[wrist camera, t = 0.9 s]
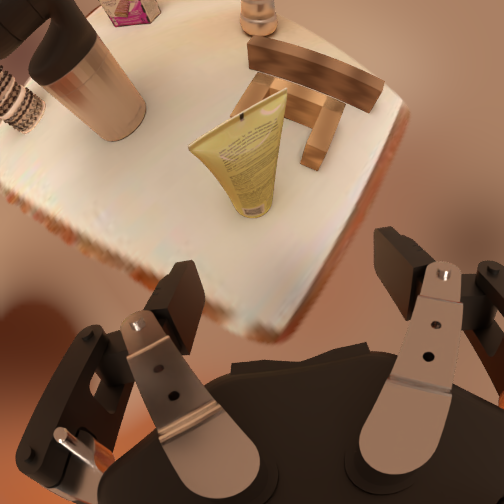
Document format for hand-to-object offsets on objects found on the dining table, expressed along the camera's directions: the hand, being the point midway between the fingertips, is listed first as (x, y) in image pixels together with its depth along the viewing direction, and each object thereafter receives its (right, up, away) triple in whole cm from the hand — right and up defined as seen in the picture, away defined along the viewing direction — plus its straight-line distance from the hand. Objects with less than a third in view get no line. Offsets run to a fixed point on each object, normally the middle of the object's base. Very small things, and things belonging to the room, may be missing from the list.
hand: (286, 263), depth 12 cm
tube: (-1, +7, +23) cm, 24 cm away
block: (+3, +17, +23) cm, 29 cm away
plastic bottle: (0, +41, +25) cm, 48 cm away
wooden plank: (+8, +27, +24) cm, 37 cm away
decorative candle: (-50, +30, +27) cm, 64 cm away
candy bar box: (-27, +53, +28) cm, 66 cm away
